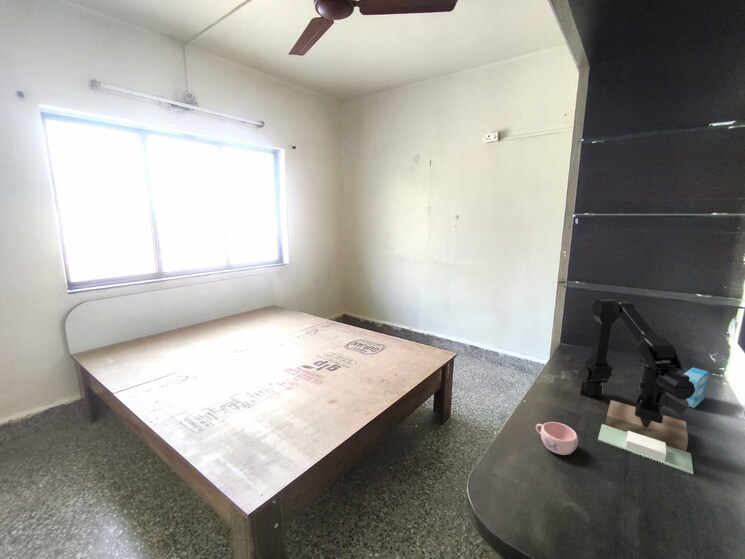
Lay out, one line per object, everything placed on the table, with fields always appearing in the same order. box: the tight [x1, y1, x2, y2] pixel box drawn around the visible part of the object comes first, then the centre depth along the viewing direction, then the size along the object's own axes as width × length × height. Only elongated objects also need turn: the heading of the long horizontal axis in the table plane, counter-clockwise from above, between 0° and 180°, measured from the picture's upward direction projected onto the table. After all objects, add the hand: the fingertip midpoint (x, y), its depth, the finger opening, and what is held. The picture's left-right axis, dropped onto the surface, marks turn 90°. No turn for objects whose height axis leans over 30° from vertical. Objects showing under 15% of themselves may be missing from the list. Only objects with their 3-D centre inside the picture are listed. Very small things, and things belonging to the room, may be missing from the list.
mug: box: [535, 421, 579, 456], centre depth 101 cm, size 12×10×6 cm
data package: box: [683, 367, 710, 409], centre depth 123 cm, size 12×4×12 cm, turn 122°
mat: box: [597, 423, 694, 475], centre depth 101 cm, size 22×10×1 cm, turn 49°
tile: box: [626, 431, 666, 461], centre depth 99 cm, size 9×6×2 cm, turn 50°
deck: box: [605, 399, 689, 452], centre depth 109 cm, size 20×12×4 cm, turn 49°
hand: (645, 426), depth 103 cm, fingers closed
